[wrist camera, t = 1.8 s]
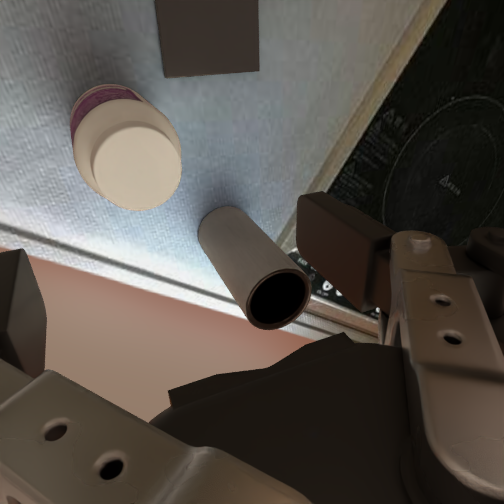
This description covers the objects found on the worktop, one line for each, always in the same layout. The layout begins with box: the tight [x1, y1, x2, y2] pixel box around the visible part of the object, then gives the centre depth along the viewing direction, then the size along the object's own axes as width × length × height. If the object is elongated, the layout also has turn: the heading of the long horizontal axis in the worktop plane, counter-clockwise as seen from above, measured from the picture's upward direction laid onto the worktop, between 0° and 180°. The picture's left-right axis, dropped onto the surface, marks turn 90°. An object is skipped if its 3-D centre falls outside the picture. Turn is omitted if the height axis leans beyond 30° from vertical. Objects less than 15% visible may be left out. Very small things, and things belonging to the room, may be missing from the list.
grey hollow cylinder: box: [198, 206, 311, 330], centre depth 28 cm, size 4×4×10 cm
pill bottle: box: [70, 84, 182, 211], centre depth 22 cm, size 5×5×10 cm
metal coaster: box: [155, 0, 259, 78], centre depth 25 cm, size 6×6×1 cm
